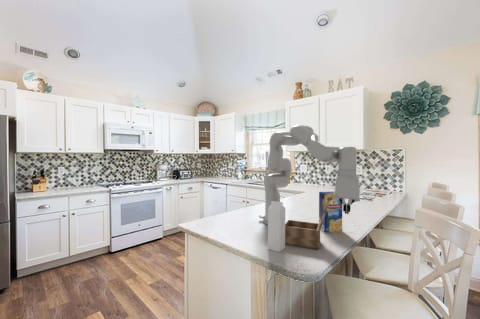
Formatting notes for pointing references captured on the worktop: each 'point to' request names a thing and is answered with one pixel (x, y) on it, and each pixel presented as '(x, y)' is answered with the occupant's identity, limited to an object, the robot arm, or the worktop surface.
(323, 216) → the lid
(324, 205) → the beverage box
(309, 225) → the crate
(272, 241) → the milk
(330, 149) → the robot arm
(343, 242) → the worktop surface
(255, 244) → the worktop surface
